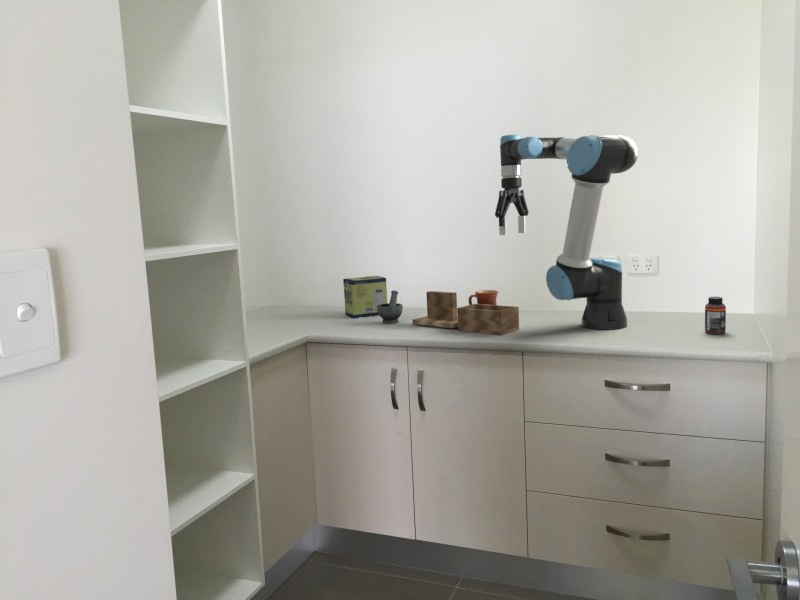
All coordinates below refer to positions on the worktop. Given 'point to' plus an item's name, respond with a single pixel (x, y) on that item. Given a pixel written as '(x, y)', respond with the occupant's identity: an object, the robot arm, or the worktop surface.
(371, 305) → the protein box
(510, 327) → the box
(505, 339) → the worktop surface
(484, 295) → the mug
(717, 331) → the supplement bottle
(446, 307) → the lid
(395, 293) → the mortar and pestle
